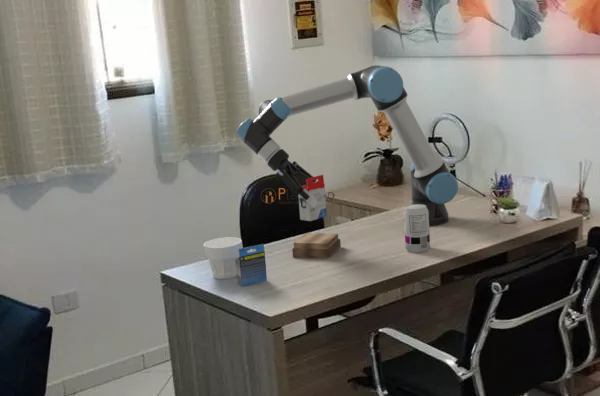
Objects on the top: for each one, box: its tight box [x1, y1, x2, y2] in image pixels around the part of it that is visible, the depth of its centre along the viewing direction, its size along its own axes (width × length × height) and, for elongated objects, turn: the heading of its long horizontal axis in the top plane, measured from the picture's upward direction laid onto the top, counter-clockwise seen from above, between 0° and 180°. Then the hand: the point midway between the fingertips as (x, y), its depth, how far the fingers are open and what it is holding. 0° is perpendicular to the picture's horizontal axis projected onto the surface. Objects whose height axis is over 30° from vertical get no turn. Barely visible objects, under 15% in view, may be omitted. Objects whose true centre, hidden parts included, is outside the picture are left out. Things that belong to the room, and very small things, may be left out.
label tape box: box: [235, 243, 268, 288], centre depth 251 cm, size 9×4×12 cm, turn 118°
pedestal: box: [291, 232, 342, 259], centre depth 278 cm, size 13×13×5 cm
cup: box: [203, 236, 243, 280], centre depth 261 cm, size 12×12×11 cm
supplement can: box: [403, 203, 431, 254], centre depth 271 cm, size 8×8×15 cm
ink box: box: [297, 174, 327, 222], centre depth 275 cm, size 8×5×15 cm, turn 135°
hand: (320, 201), depth 274 cm, fingers closed on ink box, 9 cm apart
